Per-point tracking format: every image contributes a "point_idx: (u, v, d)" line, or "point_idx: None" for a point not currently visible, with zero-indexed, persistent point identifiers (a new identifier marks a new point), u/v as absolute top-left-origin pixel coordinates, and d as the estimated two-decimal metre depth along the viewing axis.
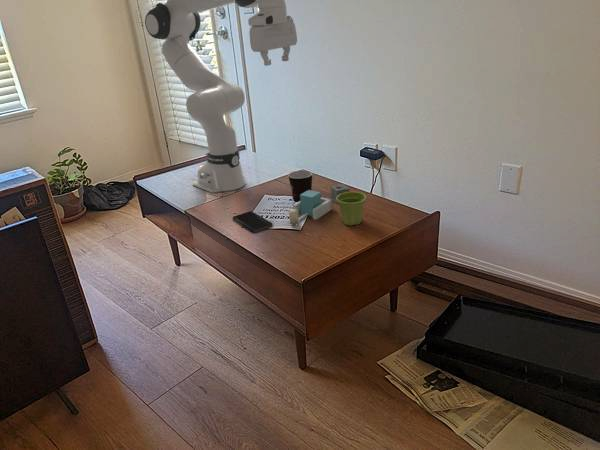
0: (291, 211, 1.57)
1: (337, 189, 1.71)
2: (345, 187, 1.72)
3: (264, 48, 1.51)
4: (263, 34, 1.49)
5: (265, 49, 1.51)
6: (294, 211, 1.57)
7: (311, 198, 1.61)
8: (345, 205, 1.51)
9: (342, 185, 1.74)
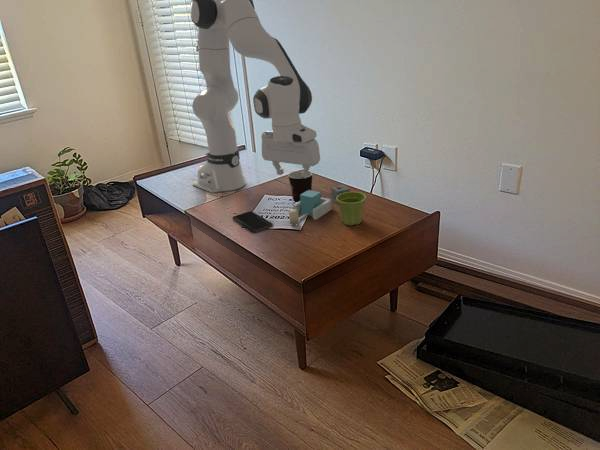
0: (291, 211, 1.57)
1: (338, 190, 1.71)
2: (346, 188, 1.72)
3: None
4: None
5: None
6: (294, 211, 1.57)
7: (311, 198, 1.61)
8: (345, 205, 1.51)
9: (343, 186, 1.74)
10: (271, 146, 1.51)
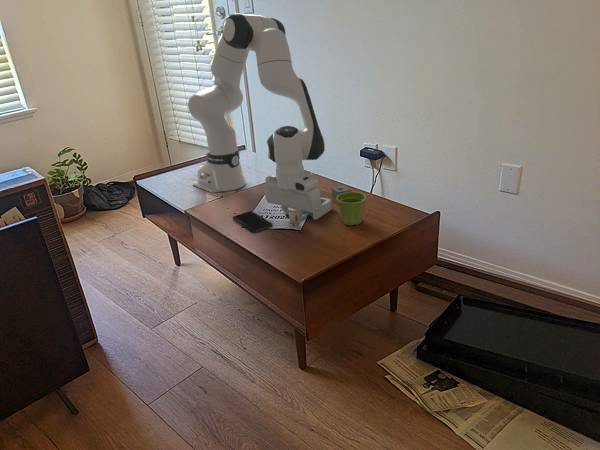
0: (291, 211, 1.57)
1: (338, 190, 1.70)
2: (346, 188, 1.71)
3: None
4: None
5: None
6: (294, 211, 1.57)
7: None
8: (345, 205, 1.51)
9: (343, 186, 1.73)
10: (274, 190, 1.57)
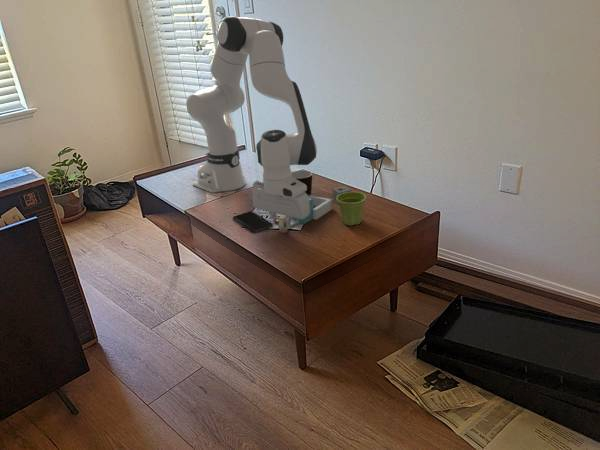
0: (280, 218, 1.53)
1: (339, 191, 1.69)
2: (347, 189, 1.71)
3: None
4: None
5: None
6: (283, 218, 1.53)
7: None
8: (345, 205, 1.51)
9: (344, 187, 1.73)
10: (262, 196, 1.52)
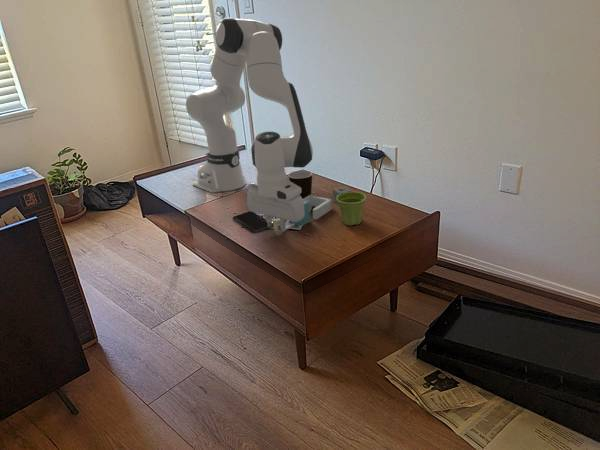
0: (275, 221, 1.52)
1: (339, 191, 1.69)
2: (347, 189, 1.70)
3: None
4: None
5: None
6: (278, 221, 1.51)
7: None
8: (345, 205, 1.51)
9: (344, 187, 1.72)
10: (256, 199, 1.50)
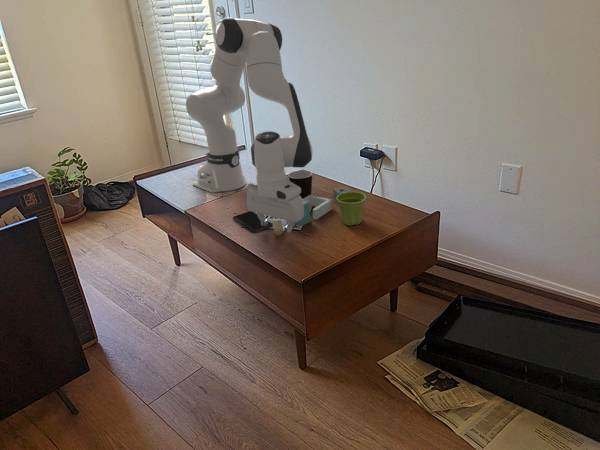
0: (275, 221, 1.52)
1: (340, 192, 1.69)
2: (348, 190, 1.70)
3: None
4: None
5: None
6: (278, 221, 1.51)
7: None
8: (345, 205, 1.51)
9: (345, 188, 1.72)
10: (256, 199, 1.50)
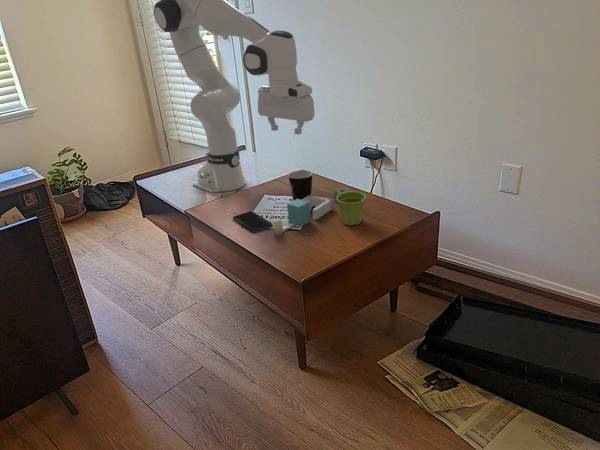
0: (275, 221, 1.52)
1: (340, 192, 1.68)
2: (348, 190, 1.69)
3: None
4: None
5: None
6: (278, 221, 1.51)
7: (298, 208, 1.54)
8: (345, 205, 1.51)
9: (345, 188, 1.71)
10: (267, 101, 1.53)
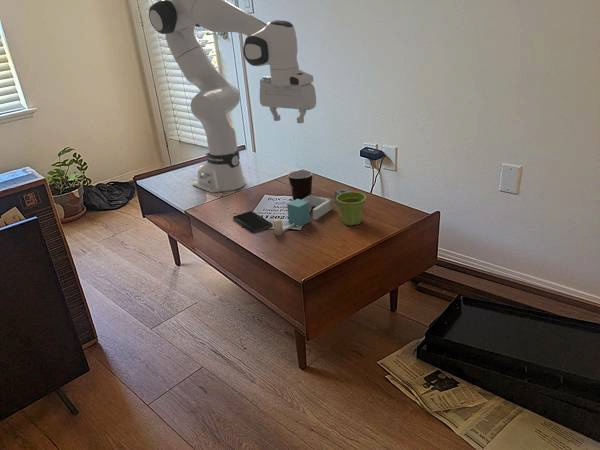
0: (275, 221, 1.52)
1: (341, 193, 1.68)
2: (349, 191, 1.69)
3: None
4: None
5: None
6: (278, 221, 1.51)
7: (298, 208, 1.54)
8: (345, 205, 1.51)
9: (346, 189, 1.71)
10: (268, 91, 1.54)
